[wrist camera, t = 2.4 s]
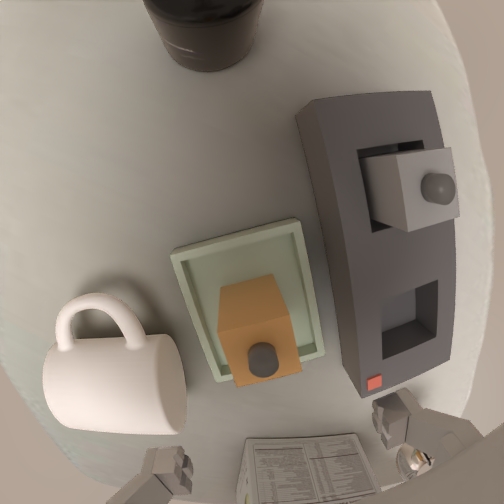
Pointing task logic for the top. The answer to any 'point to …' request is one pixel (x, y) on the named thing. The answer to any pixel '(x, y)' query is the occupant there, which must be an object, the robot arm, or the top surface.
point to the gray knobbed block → (411, 187)
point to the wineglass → (412, 462)
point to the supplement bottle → (206, 30)
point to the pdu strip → (380, 240)
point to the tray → (245, 268)
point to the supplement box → (305, 471)
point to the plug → (256, 331)
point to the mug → (114, 375)
